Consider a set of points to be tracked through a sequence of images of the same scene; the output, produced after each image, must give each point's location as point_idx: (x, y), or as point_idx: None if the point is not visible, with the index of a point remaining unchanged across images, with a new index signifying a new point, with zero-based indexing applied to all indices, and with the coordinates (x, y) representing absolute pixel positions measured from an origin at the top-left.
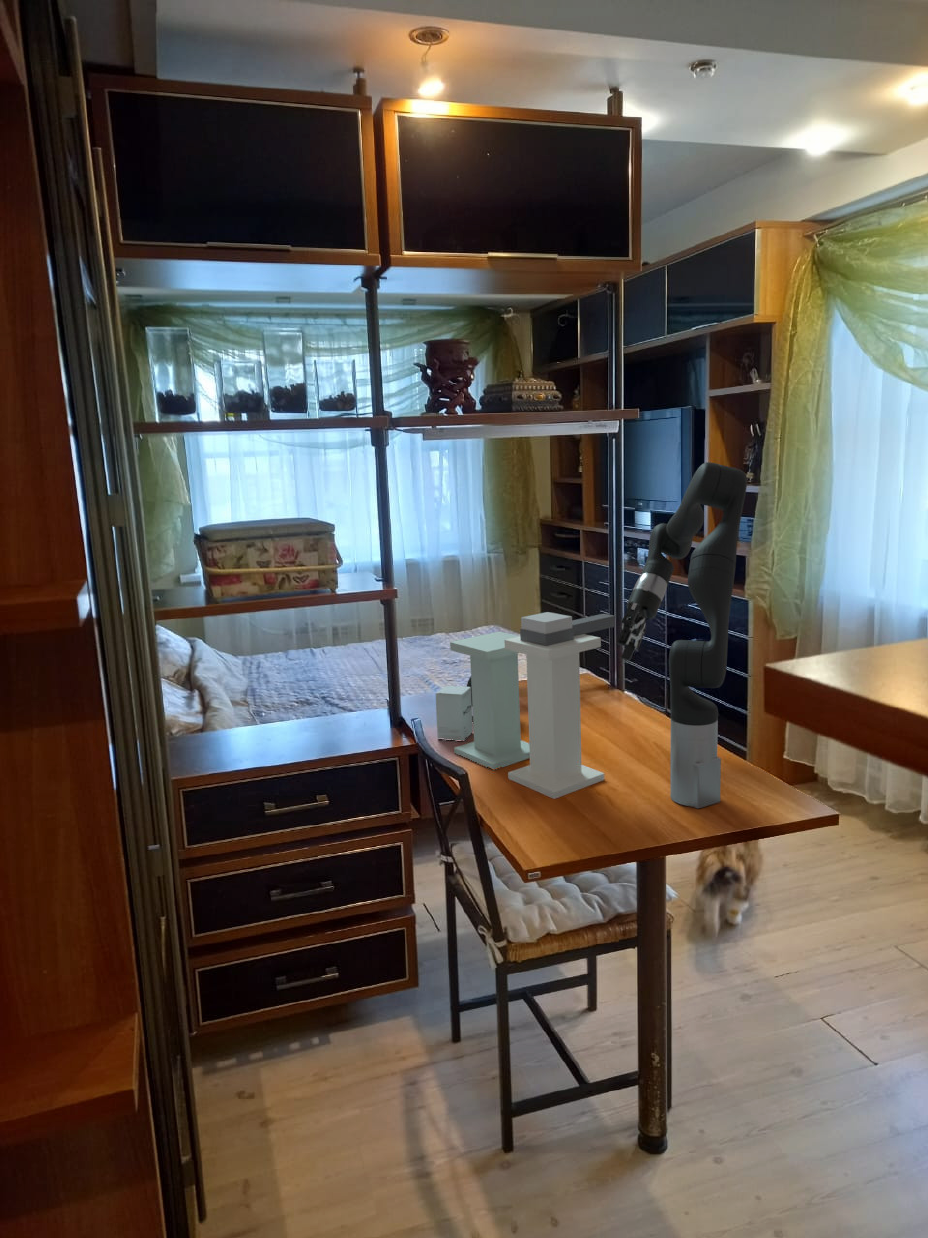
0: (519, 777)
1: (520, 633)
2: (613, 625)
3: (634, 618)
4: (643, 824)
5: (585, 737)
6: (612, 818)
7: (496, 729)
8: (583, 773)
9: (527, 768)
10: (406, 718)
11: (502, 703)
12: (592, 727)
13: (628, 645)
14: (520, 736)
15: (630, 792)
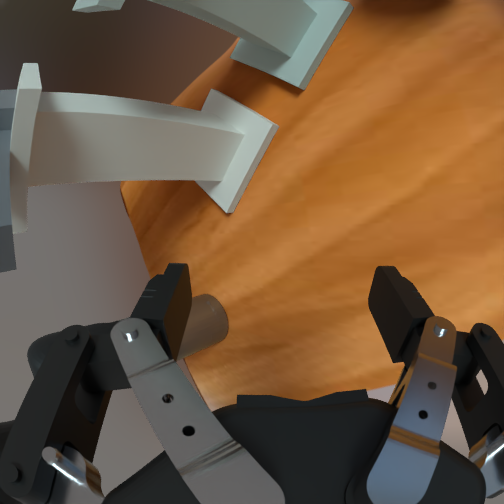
0: (202, 108)
1: (6, 90)
2: (11, 264)
3: (85, 417)
4: (164, 261)
5: (411, 145)
6: (166, 232)
7: (225, 29)
8: (221, 183)
9: (224, 104)
10: None
11: (200, 15)
12: (477, 154)
13: (407, 330)
14: (278, 49)
15: (210, 248)
